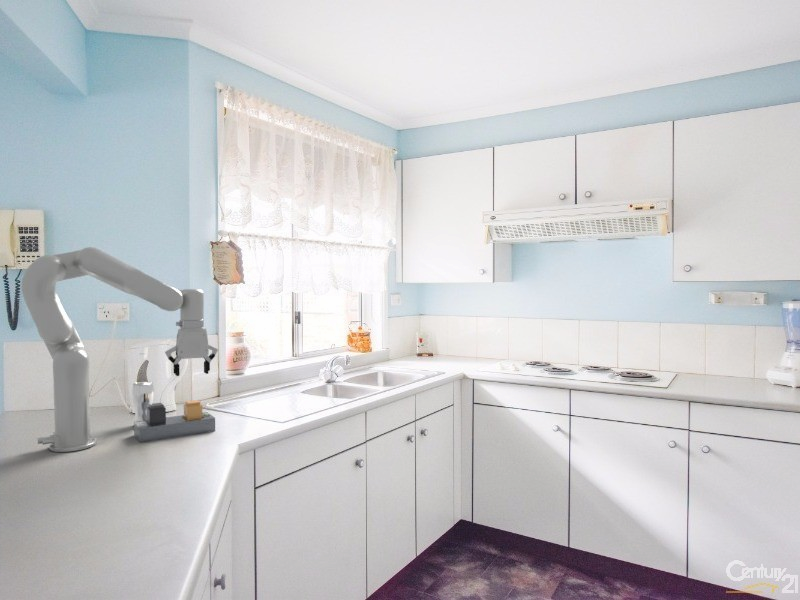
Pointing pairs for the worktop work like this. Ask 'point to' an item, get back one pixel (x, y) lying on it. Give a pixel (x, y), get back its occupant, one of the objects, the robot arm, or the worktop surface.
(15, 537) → the worktop surface
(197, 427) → the power strip
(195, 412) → the plug
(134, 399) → the beer glass
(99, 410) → the worktop surface
